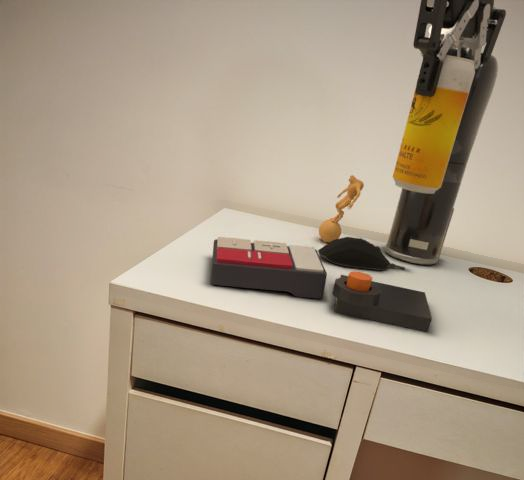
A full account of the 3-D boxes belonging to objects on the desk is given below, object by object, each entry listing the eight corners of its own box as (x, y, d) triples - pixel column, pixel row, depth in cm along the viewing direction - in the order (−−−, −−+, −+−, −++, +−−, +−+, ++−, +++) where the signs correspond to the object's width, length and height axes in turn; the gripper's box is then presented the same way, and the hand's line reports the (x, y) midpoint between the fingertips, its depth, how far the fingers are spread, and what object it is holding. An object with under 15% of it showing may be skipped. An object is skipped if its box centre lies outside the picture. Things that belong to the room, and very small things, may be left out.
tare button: (346, 282, 76) (349, 269, 75) (369, 286, 76) (372, 274, 75) (345, 289, 74) (348, 276, 73) (369, 294, 73) (372, 281, 73)
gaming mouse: (410, 276, 94) (417, 252, 92) (321, 264, 92) (326, 239, 90) (398, 263, 100) (405, 240, 98) (314, 251, 97) (319, 228, 96)
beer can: (385, 179, 76) (418, 52, 69) (429, 187, 77) (465, 61, 70) (398, 190, 71) (435, 52, 64) (446, 197, 71) (487, 62, 65)
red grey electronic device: (214, 233, 84) (317, 243, 85) (212, 262, 86) (312, 271, 87) (212, 257, 74) (328, 268, 76) (210, 289, 76) (323, 299, 78)
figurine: (312, 233, 108) (326, 167, 102) (343, 237, 109) (359, 172, 103) (321, 247, 100) (337, 176, 95) (354, 252, 101) (372, 182, 96)
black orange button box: (332, 285, 84) (338, 262, 82) (421, 304, 83) (428, 281, 81) (328, 314, 74) (334, 288, 72) (428, 335, 73) (437, 310, 71)
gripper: (485, -95, 55) (432, 98, 62) (550, -54, 64) (497, 109, 71) (419, -92, 59) (378, 87, 67) (489, -55, 69) (445, 99, 76)
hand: (440, 98), depth 69 cm, fingers closed on beer can, 6 cm apart
